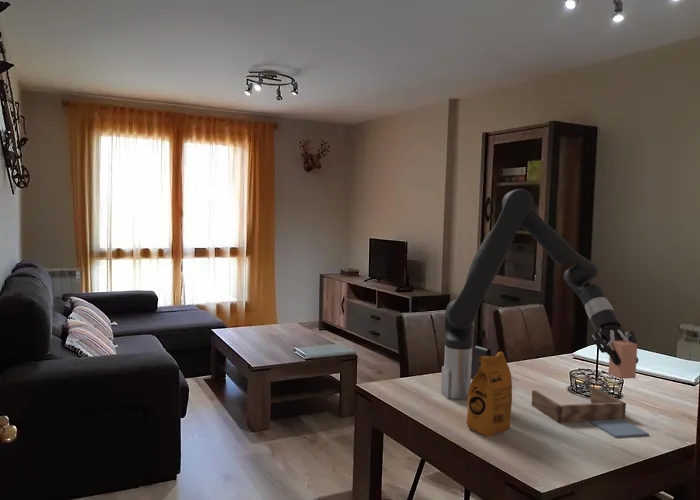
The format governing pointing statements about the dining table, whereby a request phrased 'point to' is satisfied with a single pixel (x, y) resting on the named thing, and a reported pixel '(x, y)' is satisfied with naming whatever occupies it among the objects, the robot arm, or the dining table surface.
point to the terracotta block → (624, 360)
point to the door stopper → (475, 362)
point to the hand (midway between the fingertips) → (627, 363)
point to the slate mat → (619, 428)
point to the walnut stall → (581, 408)
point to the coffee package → (490, 396)
